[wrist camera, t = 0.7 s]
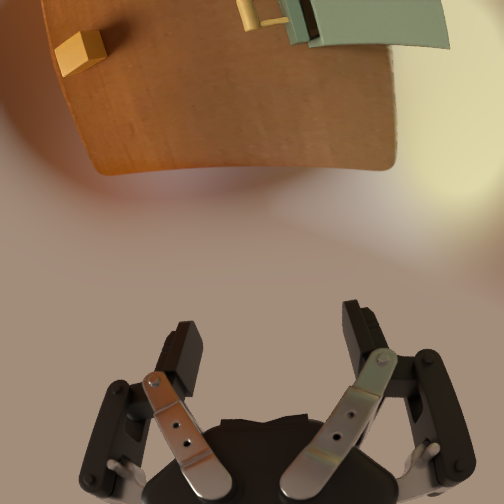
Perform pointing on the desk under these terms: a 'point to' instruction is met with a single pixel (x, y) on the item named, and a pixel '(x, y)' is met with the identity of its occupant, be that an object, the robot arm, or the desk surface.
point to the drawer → (283, 19)
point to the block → (80, 52)
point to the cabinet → (379, 23)
